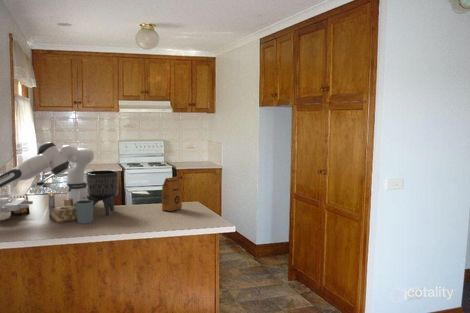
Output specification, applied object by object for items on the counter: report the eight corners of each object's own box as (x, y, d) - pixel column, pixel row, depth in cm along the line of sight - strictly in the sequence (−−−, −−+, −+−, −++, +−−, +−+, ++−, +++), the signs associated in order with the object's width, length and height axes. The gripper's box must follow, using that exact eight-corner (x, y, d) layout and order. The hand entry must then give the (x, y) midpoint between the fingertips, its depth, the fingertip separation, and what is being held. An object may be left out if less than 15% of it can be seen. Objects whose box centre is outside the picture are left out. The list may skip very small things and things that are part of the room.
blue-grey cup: (83, 224, 244) (82, 203, 243) (72, 222, 249) (71, 202, 248) (97, 221, 252) (97, 201, 251) (86, 218, 258) (85, 199, 256)
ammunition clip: (11, 216, 264) (10, 196, 263) (10, 215, 265) (9, 196, 265) (29, 213, 271) (28, 194, 271) (28, 213, 272) (27, 194, 272)
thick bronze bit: (71, 213, 271) (71, 198, 270) (75, 215, 267) (74, 199, 266) (62, 215, 267) (62, 199, 266) (66, 216, 263) (65, 200, 262)
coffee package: (184, 209, 285) (183, 176, 283) (170, 212, 275) (169, 178, 273) (173, 207, 291) (173, 175, 289) (159, 210, 281) (159, 177, 279)
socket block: (69, 216, 263) (69, 205, 262) (77, 219, 255) (77, 208, 254) (51, 219, 255) (51, 208, 254) (58, 222, 247) (58, 211, 246)
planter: (102, 209, 285) (101, 169, 283) (125, 212, 277) (125, 171, 274) (80, 214, 268) (79, 173, 265) (104, 218, 259) (103, 175, 257)
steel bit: (54, 216, 264) (53, 193, 262) (56, 217, 261) (55, 194, 260) (48, 217, 261) (47, 194, 260) (50, 218, 259) (49, 195, 257)
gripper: (-1, 203, 245) (25, 202, 248) (10, 196, 265) (34, 195, 268) (-1, 214, 246) (25, 213, 248) (11, 206, 266) (35, 205, 268)
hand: (30, 204), depth 258 cm, fingers open, 8 cm apart
